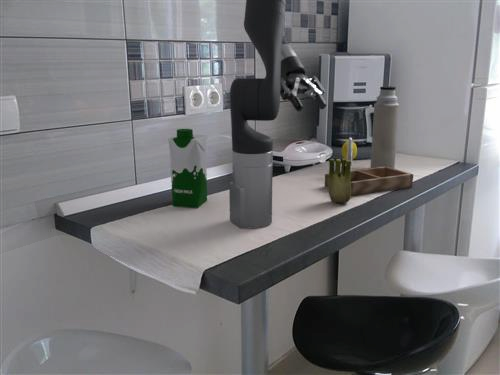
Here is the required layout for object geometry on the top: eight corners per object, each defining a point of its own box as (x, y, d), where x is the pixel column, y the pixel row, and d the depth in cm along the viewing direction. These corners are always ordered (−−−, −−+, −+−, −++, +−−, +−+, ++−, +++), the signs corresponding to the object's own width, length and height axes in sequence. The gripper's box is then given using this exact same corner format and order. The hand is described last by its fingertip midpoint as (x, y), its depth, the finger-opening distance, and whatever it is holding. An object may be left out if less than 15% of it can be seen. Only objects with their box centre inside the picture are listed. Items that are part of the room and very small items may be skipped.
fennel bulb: (325, 201, 134) (326, 157, 131) (338, 198, 137) (340, 155, 134) (340, 206, 129) (342, 161, 126) (353, 203, 132) (356, 159, 129)
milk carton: (168, 207, 129) (164, 130, 124) (181, 197, 138) (179, 125, 132) (199, 209, 127) (197, 131, 122) (211, 200, 135) (210, 126, 130)
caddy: (349, 197, 138) (350, 183, 137) (324, 186, 148) (325, 173, 147) (412, 187, 148) (413, 174, 147) (384, 178, 158) (385, 166, 157)
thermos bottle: (374, 166, 175) (379, 85, 168) (397, 168, 171) (403, 86, 164) (366, 170, 169) (372, 86, 161) (390, 173, 165) (396, 87, 157)
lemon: (355, 160, 185) (356, 138, 183) (357, 163, 180) (358, 141, 178) (340, 159, 186) (341, 138, 184) (341, 163, 181) (342, 141, 178)
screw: (351, 180, 156) (337, 177, 159) (359, 177, 160) (345, 175, 163) (353, 139, 153) (339, 137, 156) (361, 137, 156) (347, 135, 159)
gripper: (272, 55, 135) (299, 101, 129) (311, 54, 143) (338, 98, 137) (260, 74, 140) (286, 119, 134) (298, 72, 148) (324, 115, 142)
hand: (312, 108), depth 136 cm, fingers open, 8 cm apart
